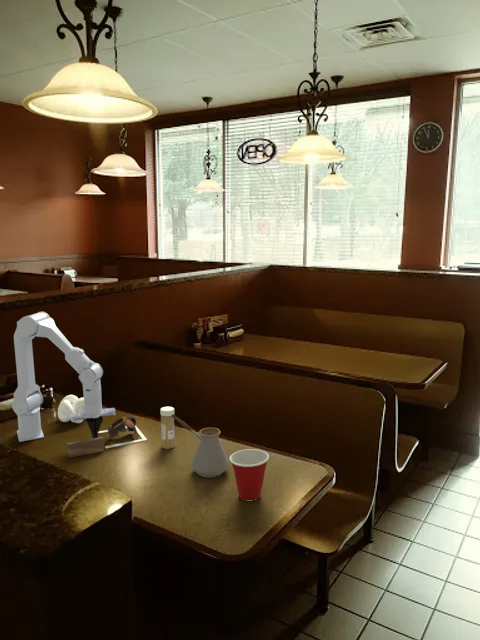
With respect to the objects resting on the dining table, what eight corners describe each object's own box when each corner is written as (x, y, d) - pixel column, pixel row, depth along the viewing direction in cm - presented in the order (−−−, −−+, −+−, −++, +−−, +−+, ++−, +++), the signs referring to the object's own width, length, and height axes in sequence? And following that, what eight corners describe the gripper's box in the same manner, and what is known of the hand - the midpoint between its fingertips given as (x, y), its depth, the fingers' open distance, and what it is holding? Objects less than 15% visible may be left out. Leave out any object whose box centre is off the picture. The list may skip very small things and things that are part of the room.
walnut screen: (68, 456, 166) (67, 443, 165) (102, 449, 171) (102, 436, 170) (69, 457, 165) (68, 444, 164) (103, 450, 170) (103, 438, 169)
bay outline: (96, 432, 184) (96, 432, 184) (135, 425, 191) (135, 424, 191) (105, 448, 172) (105, 447, 172) (147, 440, 178) (147, 439, 178)
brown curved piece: (134, 446, 175) (120, 427, 173) (113, 453, 179) (100, 435, 176) (147, 424, 186) (135, 406, 183) (128, 431, 189) (115, 414, 187)
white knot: (84, 411, 204) (82, 390, 203) (97, 421, 195) (95, 398, 193) (55, 418, 197) (53, 396, 195) (67, 428, 188) (66, 405, 186)
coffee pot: (236, 469, 158) (236, 423, 155) (213, 485, 149) (213, 436, 146) (183, 451, 170) (182, 408, 167) (159, 464, 161) (157, 419, 158)
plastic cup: (245, 482, 150) (246, 443, 148) (276, 494, 144) (277, 454, 141) (221, 497, 142) (221, 456, 140) (252, 511, 136) (252, 468, 133)
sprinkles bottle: (175, 449, 172) (174, 410, 169) (161, 449, 171) (160, 411, 169) (175, 443, 176) (174, 405, 174) (161, 443, 176) (160, 406, 173)
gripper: (72, 407, 167) (75, 446, 170) (117, 400, 174) (118, 437, 177) (68, 400, 174) (71, 438, 176) (111, 393, 180) (113, 430, 183)
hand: (94, 437), depth 177 cm, fingers closed
